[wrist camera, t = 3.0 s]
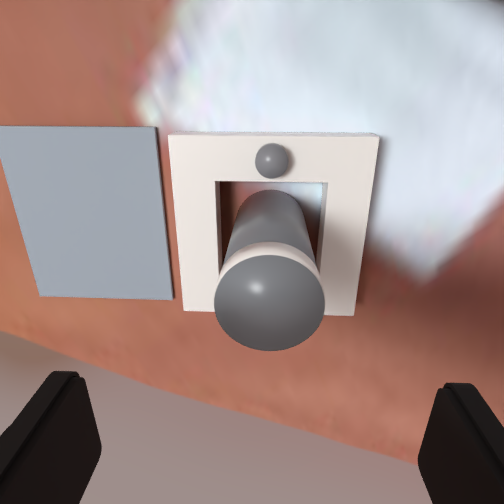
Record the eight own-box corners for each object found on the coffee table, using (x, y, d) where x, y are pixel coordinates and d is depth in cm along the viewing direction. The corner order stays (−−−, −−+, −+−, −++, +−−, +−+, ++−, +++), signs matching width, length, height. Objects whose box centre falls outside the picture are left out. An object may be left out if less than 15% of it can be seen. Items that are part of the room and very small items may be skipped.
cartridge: (307, 189, 22) (331, 257, 13) (302, 255, 24) (321, 353, 15) (234, 188, 23) (210, 254, 14) (235, 253, 25) (215, 350, 15)
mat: (155, 126, 21) (154, 127, 21) (173, 297, 26) (172, 299, 26) (-6, 125, 22) (-9, 125, 21) (42, 293, 27) (39, 296, 26)
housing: (370, 133, 21) (383, 138, 18) (347, 300, 26) (356, 323, 23) (176, 131, 21) (163, 136, 19) (189, 295, 26) (181, 317, 24)
